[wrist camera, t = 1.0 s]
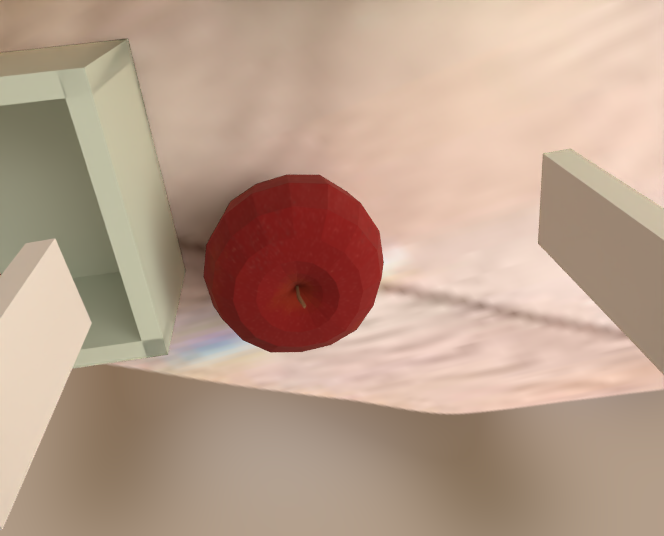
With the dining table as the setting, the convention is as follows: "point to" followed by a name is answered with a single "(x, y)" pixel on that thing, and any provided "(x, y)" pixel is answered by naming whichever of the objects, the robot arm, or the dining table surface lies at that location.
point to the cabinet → (91, 191)
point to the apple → (294, 264)
